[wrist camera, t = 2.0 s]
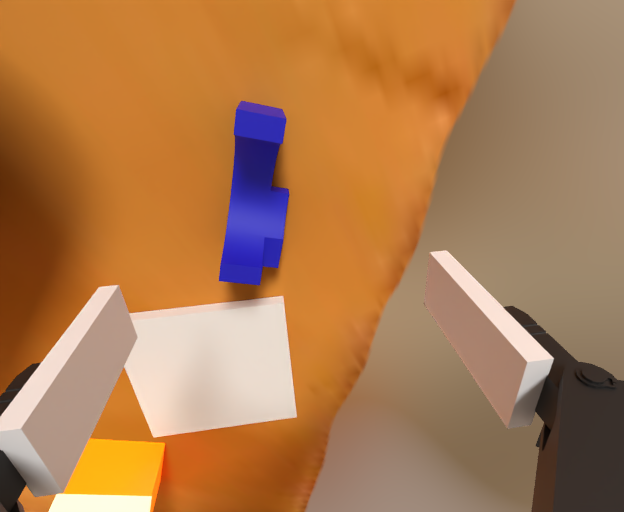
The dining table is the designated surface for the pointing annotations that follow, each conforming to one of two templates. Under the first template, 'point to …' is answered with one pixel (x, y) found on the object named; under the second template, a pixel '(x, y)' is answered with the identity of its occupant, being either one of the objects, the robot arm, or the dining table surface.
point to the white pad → (212, 366)
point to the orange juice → (113, 478)
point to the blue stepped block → (254, 196)
